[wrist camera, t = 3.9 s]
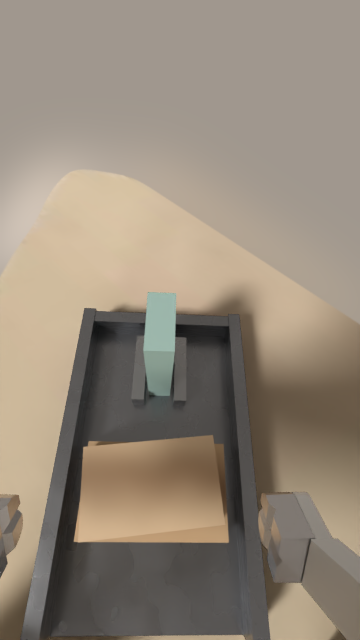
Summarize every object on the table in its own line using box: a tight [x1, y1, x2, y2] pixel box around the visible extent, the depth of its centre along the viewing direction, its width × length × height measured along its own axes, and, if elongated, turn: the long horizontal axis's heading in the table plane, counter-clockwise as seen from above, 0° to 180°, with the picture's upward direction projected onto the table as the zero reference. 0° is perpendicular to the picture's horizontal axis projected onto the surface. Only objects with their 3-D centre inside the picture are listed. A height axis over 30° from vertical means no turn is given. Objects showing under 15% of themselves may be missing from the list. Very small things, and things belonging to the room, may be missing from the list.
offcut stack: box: [74, 435, 229, 543], centre depth 21 cm, size 6×10×4 cm, turn 89°
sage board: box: [143, 292, 176, 396], centre depth 22 cm, size 4×2×10 cm, turn 179°
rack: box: [20, 308, 270, 640], centre depth 23 cm, size 22×14×3 cm, turn 179°
